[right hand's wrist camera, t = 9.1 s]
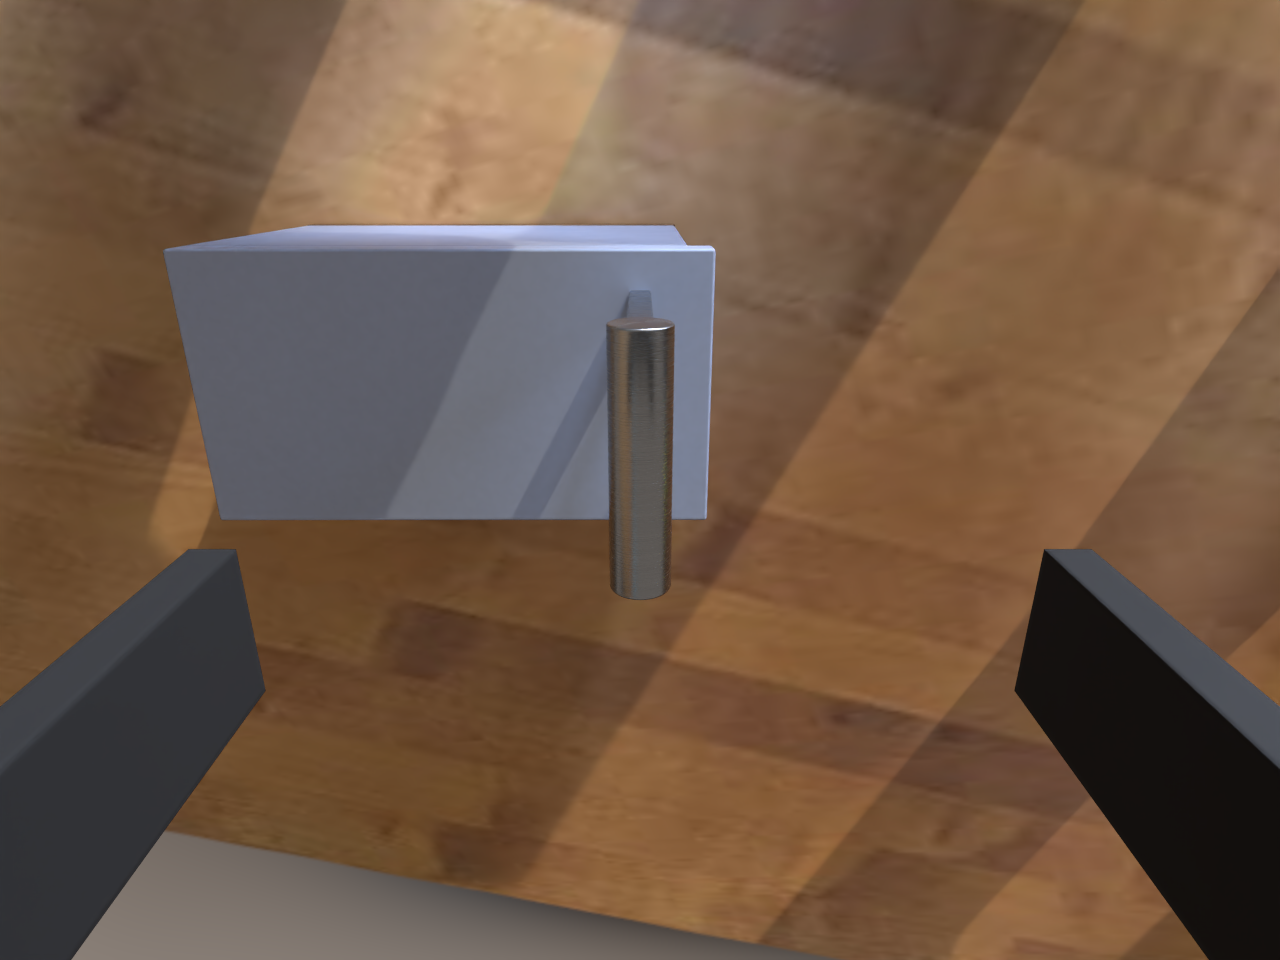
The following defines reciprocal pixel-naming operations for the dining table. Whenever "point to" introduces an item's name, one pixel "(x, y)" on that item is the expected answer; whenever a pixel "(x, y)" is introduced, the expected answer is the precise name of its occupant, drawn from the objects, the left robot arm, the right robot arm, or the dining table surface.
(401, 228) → the chest
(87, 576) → the dining table surface
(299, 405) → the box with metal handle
